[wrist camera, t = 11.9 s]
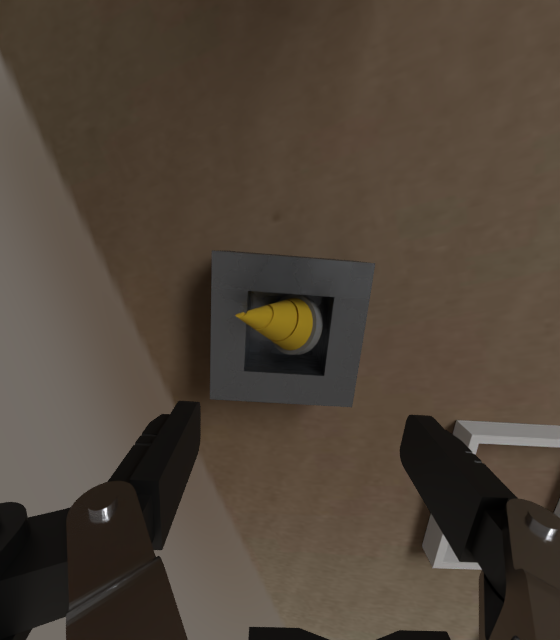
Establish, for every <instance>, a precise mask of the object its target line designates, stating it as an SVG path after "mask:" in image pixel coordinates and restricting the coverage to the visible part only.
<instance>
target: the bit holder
mask: <svg viewBox="0 0 560 640" xmlns="http://www.w3.org/2000/svg"><path fill="white" fill-rule="evenodd" d="M374 268H375V263H367V262H359V261H349V260H336V259H324V258H311V257H298V256H286V255H273V254H261V253H248V252H235V251H212V280H211V354H210V399H215V400H233V401H251V402H269V403H287V404H305V405H323V406H341V407H352V404H353V398H354V392H355V385H356V379H357V373H358V367H359V361H360V355H361V348H362V342H363V336H364V330H365V324H366V318H367V311H368V305H369V299H370V293H371V287H372V281H373V274H374ZM289 294H299V295H303V296H306V297H308V298H310V299H312V300H313V301H314V302H315V303H316V304H317V305H318V307H319V309H320V311H321V314H322V320H323V327H322V333H321V336H320V338H319V340H318V342H317V344H316V345H315V346H314V347H313V348H312V349H311V350H310V351H308V352H306V353H304V354H300V355H290V354H285V353H282V352H280V351H279V350H278V349H277V348H276V347H275V346H274V344H273V343H272V341H271V340H270V339H268V338H267V337H265V336H264V335H262V334H261V333H259V332H258V331H256V330H255V329H253V328H252V327H251V326H249V325H248V324H246V323H245V322H243V321H242V320H240V319H239V318H237V317H236V316H235V315H236V314H238V313H242V312H244V313H246V312H247V311H248V310H252V309H255V308H259V307H262V306H266V305H269V304H272V303H276V302H278V301H279V300H280V299H281V298H283V297H284V296H287V295H289Z"/></svg>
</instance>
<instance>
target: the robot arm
mask: <svg viewBox="0 0 560 640" xmlns="http://www.w3.org/2000/svg"><path fill="white" fill-rule="evenodd" d="M199 446H200V402H190V401H178V403H177V404H176V406H175V407H174V409H173V411H172V412H171V414H162V415H160V416H158V417H157V418H156V419H154V420H153V421H151V422H150V423H149V424H148V426H147V427H146V429H145V430H144V431H143V433H142V436H140V437H139V438H138V440H137V441H136V443H135V445H133V447H132V448H131V450H130V451H129V453H128V454H127V455H126V457H125V458H124V459H123V461H122V462H121V464H120V465H119V466H118V468H117V469H116V471H115V472H114V473H113V475H112V476H111V478H110V479H109V480H108V482H106V483H103V484H100V485H98V486H96V487H93V488H92V489H90V490H88V491H87V492H86V493H84V494H83V495H82V496H81V497H79V498H78V499H77V500H76V502H74V504H73V505H72V506H71V507H70V508H67V509H63V510H59V511H55V512H51V513H46V514H42V515H37V516H33V517H29V518H28V517H27V512H26V509H25V507H24V506H23V505H21V504H19V503H16V502H6V503H0V640H26V638H27V637H28V635H29V633H30V632H31V630H32V628H35V627H37V626H40V625H43V624H46V623H49V622H52V621H55V620H57V619H60V618H63V617H66V640H187V636H186V633H185V630H184V626H183V623H182V620H181V617H180V614H179V611H178V608H177V605H176V602H175V598H174V595H173V592H172V589H171V586H170V583H169V580H168V577H167V573H166V571H165V567H164V564H163V562H162V560H161V558H160V557H159V556H158V557H156V556H155V553H154V550H162V549H163V546H164V544H165V541H166V538H167V536H168V533H169V530H170V528H171V525H172V522H173V519H174V516H175V514H176V511H177V509H178V506H179V503H180V501H181V498H182V495H183V492H184V490H185V487H186V484H187V482H188V479H189V476H190V474H191V471H192V468H193V465H194V462H195V460H196V457H197V454H198V451H199ZM400 458H401V462H402V465H403V467H404V469H405V470H406V472H407V474H408V475H409V477H410V479H411V480H412V482H413V484H414V486H415V487H416V489H417V491H418V492H419V494H420V496H421V497H422V499H423V501H424V502H425V504H426V506H427V508H428V509H429V511H430V513H431V514H432V516H433V518H434V519H435V521H436V523H437V525H438V526H439V528H440V530H441V531H442V533H443V535H444V536H445V538H446V540H447V541H448V543H449V545H450V547H451V548H452V550H453V552H454V553H455V555H456V557H457V558H458V560H459V562H474V563H478V564H479V566H480V567H481V569H482V571H481V573H480V576H479V640H560V518H559V517H558V516H556V515H555V514H554V513H552V512H551V511H549V510H547V509H546V508H544V507H542V506H540V505H538V504H536V503H533V502H531V501H527V500H524V499H518V498H517V497H516V496H515V495H514V494H513V493H512V492H511V491H510V490H509V489H508V488H507V487H506V486H505V485H504V484H503V483H502V482H501V481H500V480H499V479H498V478H497V477H496V475H495V474H494V473H493V472H492V471H491V470H490V469H489V468H488V467H487V466H486V465H485V464H483V463H482V462H481V460H480V459H479V458H478V457H477V456H476V455H475V454H473V453H472V451H471V450H470V449H469V448H468V447H467V446H466V445H465V444H464V443H463V442H462V441H461V440H460V439H459V438H457V437H456V436H454V435H453V434H451V433H450V432H448V431H447V430H445V429H444V428H443V427H442V426H441V425H440V424H439V423H438V422H437V421H436V420H435V419H434V418H433V417H432V416H425V415H409V416H408V418H407V420H406V425H405V429H404V433H403V438H402V442H401V446H400ZM249 640H329V639H326V638H324V637H321V636H318V635H316V634H313V633H311V632H308V631H305V630H303V629H300V628H275V627H249ZM377 640H450V637H449V635H448V633H447V632H446V631H404V630H399V631H397V632H394V633H392V634H389V635H387V636H384V637H382V638H379V639H377Z"/></svg>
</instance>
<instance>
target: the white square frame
mask: <svg viewBox="0 0 560 640" xmlns="http://www.w3.org/2000/svg"><path fill="white" fill-rule="evenodd" d="M453 435H454V436H456V437H457V438H459V439H460V440H461V441H462V442H463V443H464V444H465V445H466V446H467V447H468V448H469V449H470V450H471V451H472V453H473V454H475V455H476V451H477V448H478V445H479V443H483V444H502V445H522V446H542V447H560V426H555V425H536V424H518V423H500V422H481V421H463V420H456V424H455V427H454V431H453ZM554 514H555V515H556V516H558V517H559V518H560V499H559V502H558V504H557V506H556V509H555V511H554ZM422 548H423V550H424V552H425V554H426V556H427V558H428V560H429V562H430V564H431V566H432V568H448V569H481V567H480V566H479V564H478V563H474V562H459V560H458V558H457V557H456V555H455V553H454V552H453V550H452V548H451V547H450V545H449V543H448V541H447V540H446V538H445V536H444V535H443V533H442V531H441V530H440V528H439V526H438V525H437V523H436V521H435V519H434V518H433V516H432V514H431V515H430V518H429V522H428V526H427V529H426V533H425V537H424V540H423V544H422ZM481 570H482V569H481Z"/></svg>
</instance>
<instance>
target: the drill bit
mask: <svg viewBox="0 0 560 640" xmlns="http://www.w3.org/2000/svg"><path fill="white" fill-rule="evenodd" d="M235 316H236V317H237V318H239V319H240V320H242V321H243V322H245V323H246V324H248V325H249V326H251V327H252V328H253V329H255V330H256V331H258V332H259V333H261V334H262V335H264V336H265V337H267V338H268V339H270V340H271V341H272V343H273V344H274V346H275V347H276V348H277V349H278V350H279V351H280V352H282V353H285V354H290V355H300V354H304V353H306V352H308V351H310V350H311V349H312V348H313V347H314V346H315V345H316V344H317V342H318V340H319V338H320V336H321V333H322V327H323V320H322V314H321V311H320V309H319V307H318V305H317V304H316V303H315V302H314V301H313V300H312V299H310V298H308V297H306V296H303V295H299V294H289V295H287V296H284V297H283V298H281V299H280V300H279V301H278V302H276V303H272V304H269V305H266V306H262V307H259V308H255V309H252V310H248V311H247V312H246V313H244V312H242V313H238V314H236V315H235Z"/></svg>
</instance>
